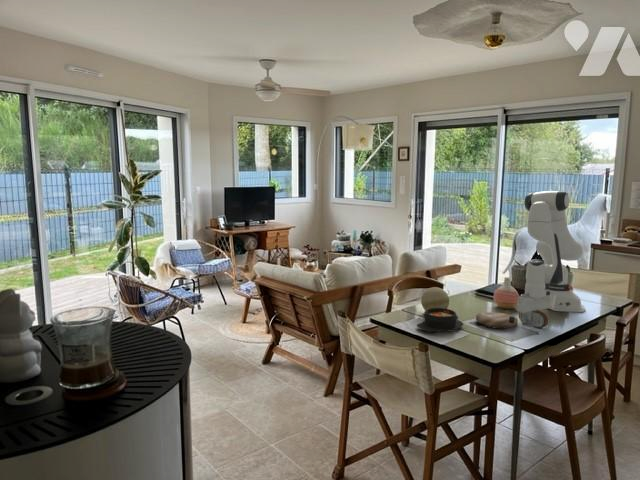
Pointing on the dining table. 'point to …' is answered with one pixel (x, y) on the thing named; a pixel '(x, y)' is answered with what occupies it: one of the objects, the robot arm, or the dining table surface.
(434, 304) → the decorative ball
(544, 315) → the tin
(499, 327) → the turntable base
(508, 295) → the vase
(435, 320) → the casserole
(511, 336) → the dining table surface
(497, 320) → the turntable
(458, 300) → the dining table surface
